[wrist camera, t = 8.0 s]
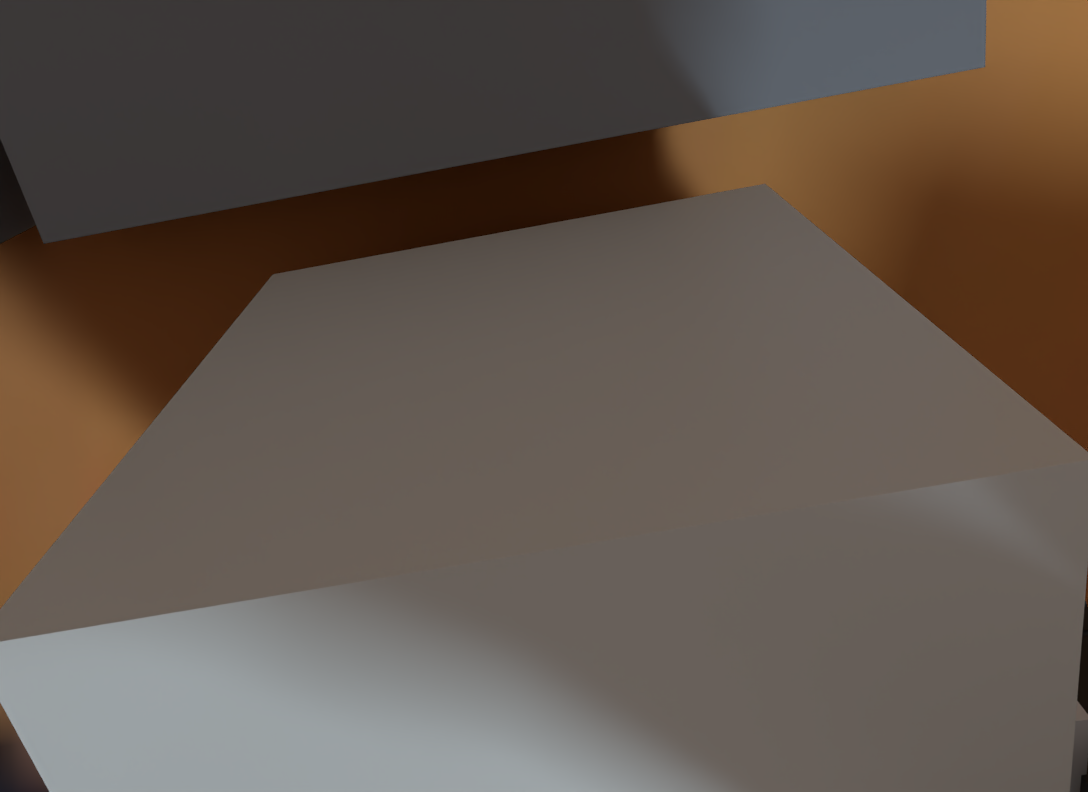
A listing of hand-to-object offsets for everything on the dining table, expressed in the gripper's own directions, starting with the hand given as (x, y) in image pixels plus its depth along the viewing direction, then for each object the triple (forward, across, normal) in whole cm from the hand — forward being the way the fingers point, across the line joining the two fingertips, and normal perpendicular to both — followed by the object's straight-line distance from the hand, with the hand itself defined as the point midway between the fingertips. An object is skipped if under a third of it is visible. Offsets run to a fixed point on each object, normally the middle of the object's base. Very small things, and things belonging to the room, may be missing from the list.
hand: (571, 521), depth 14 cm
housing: (+1, 0, 0) cm, 1 cm away
